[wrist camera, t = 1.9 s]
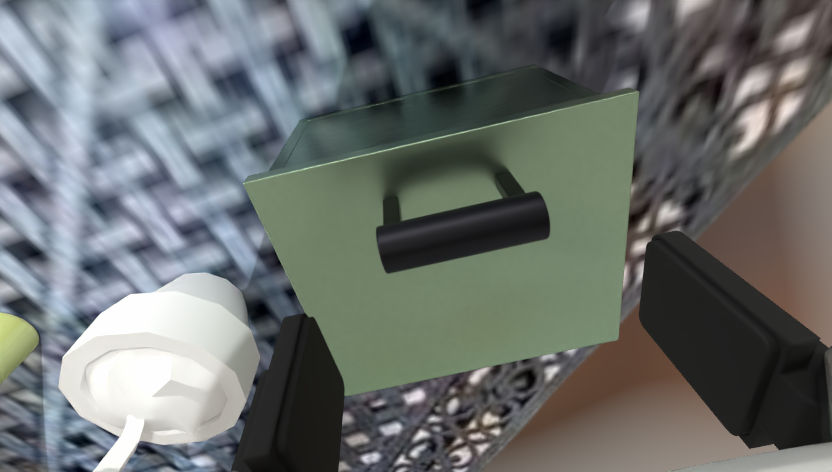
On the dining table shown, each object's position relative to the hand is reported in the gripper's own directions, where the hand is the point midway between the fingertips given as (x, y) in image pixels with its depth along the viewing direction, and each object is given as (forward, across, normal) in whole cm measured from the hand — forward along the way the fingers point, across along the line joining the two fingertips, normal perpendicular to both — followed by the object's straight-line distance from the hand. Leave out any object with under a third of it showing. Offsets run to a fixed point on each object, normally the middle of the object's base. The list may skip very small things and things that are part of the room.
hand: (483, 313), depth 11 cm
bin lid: (+8, 0, +4) cm, 10 cm away
